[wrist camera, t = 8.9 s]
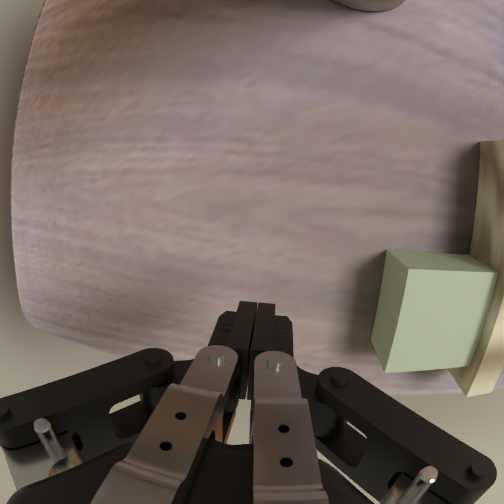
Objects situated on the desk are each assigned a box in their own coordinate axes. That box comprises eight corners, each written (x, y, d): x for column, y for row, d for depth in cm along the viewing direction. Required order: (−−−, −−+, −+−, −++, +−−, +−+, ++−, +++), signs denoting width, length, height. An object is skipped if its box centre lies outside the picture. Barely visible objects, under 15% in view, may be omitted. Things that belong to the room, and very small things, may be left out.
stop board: (479, 141, 20) (524, 139, 14) (504, 148, 19) (548, 149, 14) (441, 359, 25) (466, 396, 19) (464, 357, 25) (491, 392, 19)
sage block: (385, 248, 23) (408, 268, 18) (466, 254, 22) (498, 272, 18) (370, 338, 25) (384, 372, 20) (446, 336, 24) (469, 365, 20)
